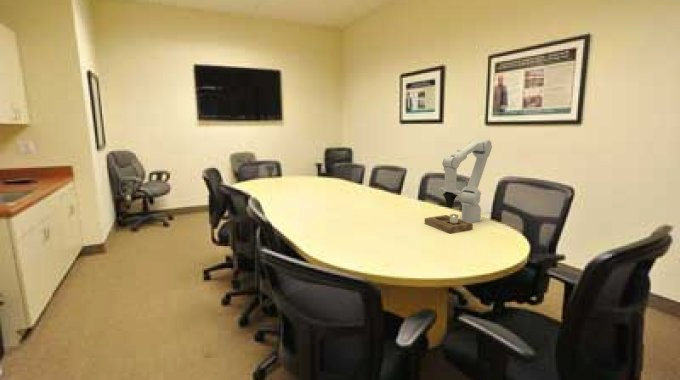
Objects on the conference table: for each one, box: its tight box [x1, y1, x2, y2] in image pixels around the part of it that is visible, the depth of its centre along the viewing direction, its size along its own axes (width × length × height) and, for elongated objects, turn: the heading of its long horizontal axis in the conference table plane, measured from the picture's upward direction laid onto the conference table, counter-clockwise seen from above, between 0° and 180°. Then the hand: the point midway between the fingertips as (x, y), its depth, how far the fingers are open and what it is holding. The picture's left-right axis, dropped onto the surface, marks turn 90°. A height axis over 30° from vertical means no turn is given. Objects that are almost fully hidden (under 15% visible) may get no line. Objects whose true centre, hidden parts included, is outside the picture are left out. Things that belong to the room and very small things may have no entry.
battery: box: [449, 213, 459, 225], centre depth 187 cm, size 4×4×7 cm
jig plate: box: [424, 214, 474, 235], centre depth 191 cm, size 14×20×3 cm
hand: (449, 207), depth 190 cm, fingers closed
